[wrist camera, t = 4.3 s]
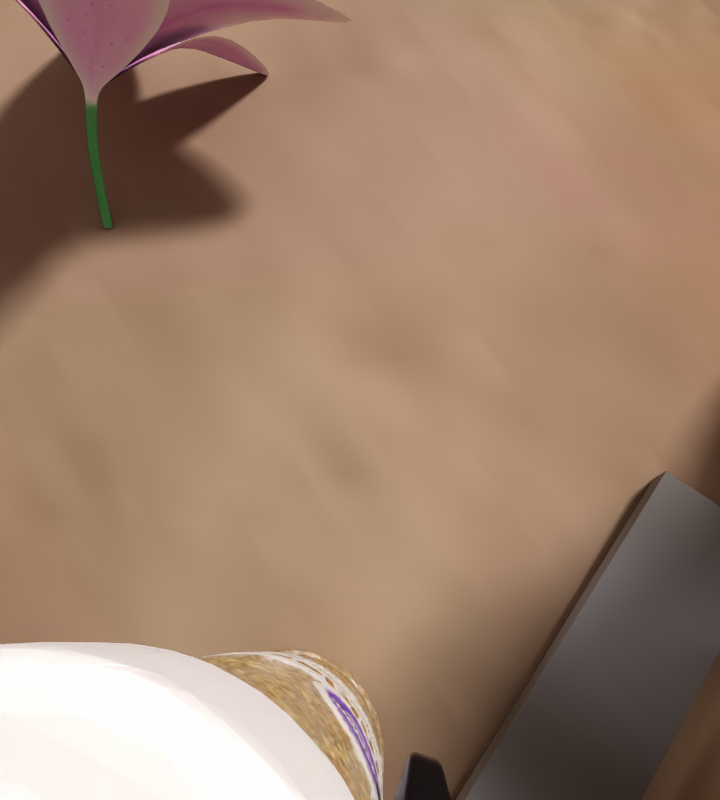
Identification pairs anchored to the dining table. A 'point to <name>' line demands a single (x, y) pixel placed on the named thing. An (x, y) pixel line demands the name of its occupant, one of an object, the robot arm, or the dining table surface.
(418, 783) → the robot arm
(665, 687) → the socket holder
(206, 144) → the dining table surface
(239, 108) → the dining table surface
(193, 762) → the sprinkles bottle
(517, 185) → the dining table surface
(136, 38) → the lily
